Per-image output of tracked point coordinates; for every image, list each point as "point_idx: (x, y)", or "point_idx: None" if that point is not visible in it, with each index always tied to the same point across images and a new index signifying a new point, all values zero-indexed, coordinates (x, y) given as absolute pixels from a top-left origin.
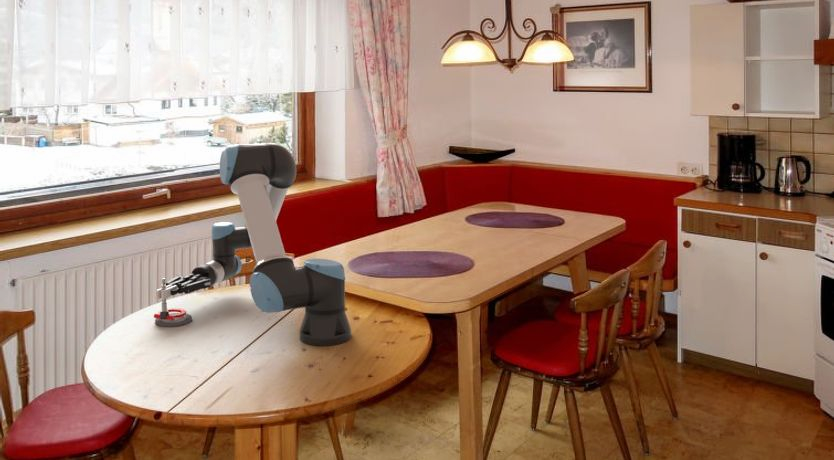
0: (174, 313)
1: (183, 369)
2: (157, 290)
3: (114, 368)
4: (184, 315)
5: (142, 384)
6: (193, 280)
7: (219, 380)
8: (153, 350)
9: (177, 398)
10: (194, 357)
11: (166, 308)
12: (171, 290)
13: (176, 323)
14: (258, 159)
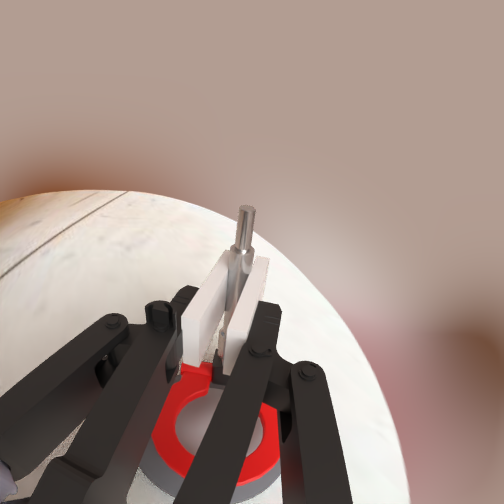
0: (242, 495)
1: (118, 225)
2: (260, 257)
3: (218, 229)
4: (175, 472)
5: (163, 209)
6: (61, 463)
7: (78, 211)
8: (182, 263)
9: (122, 198)
10: (103, 244)
11: (218, 347)
12: (198, 288)
13: (175, 382)
14: None
